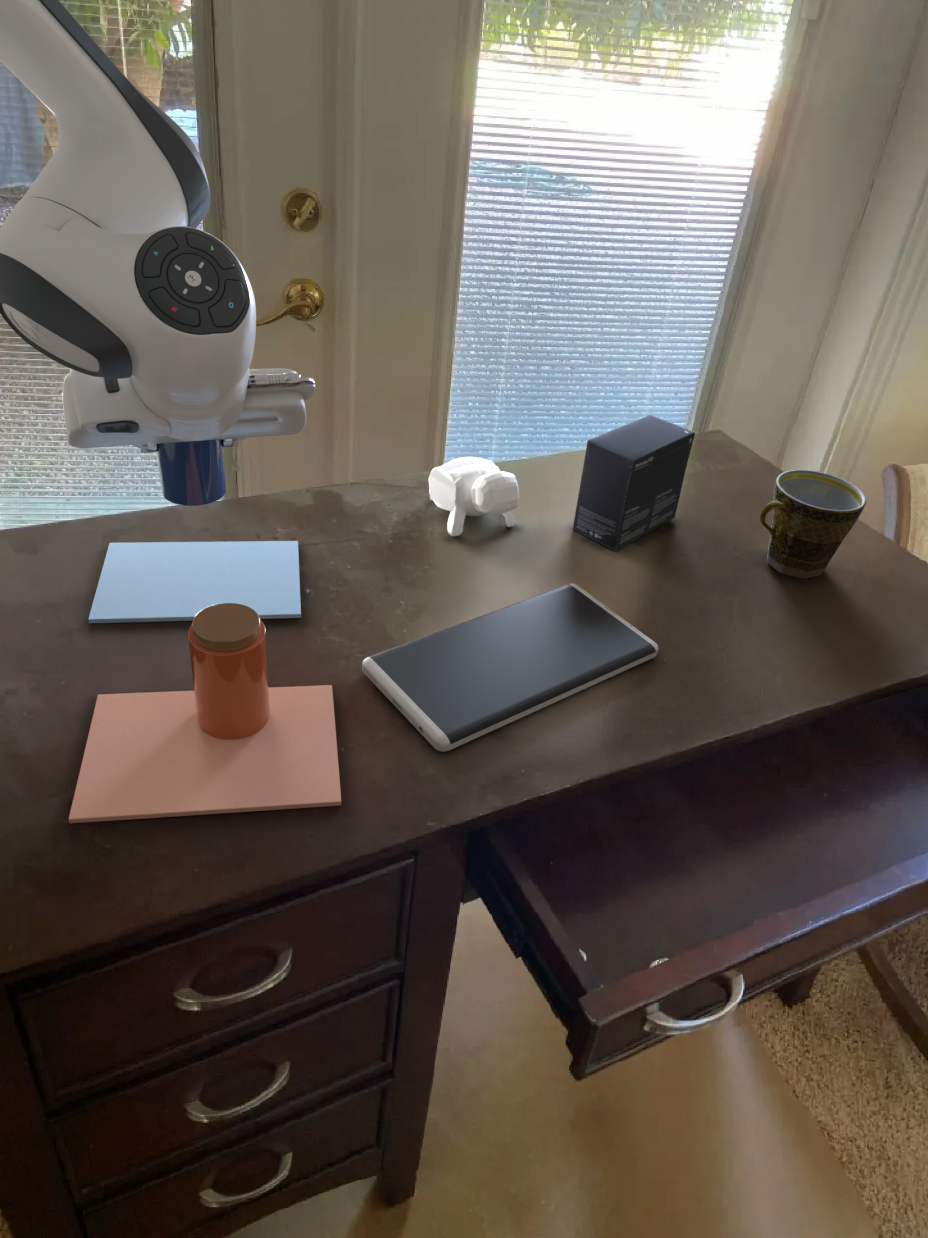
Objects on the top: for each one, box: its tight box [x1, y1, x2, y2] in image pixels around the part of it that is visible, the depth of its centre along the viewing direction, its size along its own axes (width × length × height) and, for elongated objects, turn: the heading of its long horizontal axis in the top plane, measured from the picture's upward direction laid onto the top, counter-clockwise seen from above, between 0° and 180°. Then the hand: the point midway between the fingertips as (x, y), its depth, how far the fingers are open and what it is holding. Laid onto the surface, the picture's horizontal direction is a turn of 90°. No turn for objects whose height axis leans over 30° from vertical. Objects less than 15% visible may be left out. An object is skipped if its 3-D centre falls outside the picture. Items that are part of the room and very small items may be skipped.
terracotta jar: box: [187, 603, 270, 740], centre depth 73 cm, size 6×6×10 cm
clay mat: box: [68, 684, 342, 824], centre depth 73 cm, size 20×14×1 cm
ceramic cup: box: [759, 469, 867, 580], centre depth 103 cm, size 13×10×10 cm
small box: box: [572, 414, 696, 552], centre depth 107 cm, size 13×7×12 cm, turn 136°
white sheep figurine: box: [427, 456, 520, 537], centre depth 105 cm, size 9×8×15 cm
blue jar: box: [156, 439, 227, 507], centre depth 83 cm, size 6×6×10 cm
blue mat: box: [87, 540, 302, 624], centre depth 92 cm, size 20×14×1 cm
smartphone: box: [361, 583, 659, 753], centre depth 85 cm, size 13×27×2 cm, turn 127°
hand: (188, 441), depth 84 cm, fingers closed on blue jar, 6 cm apart
